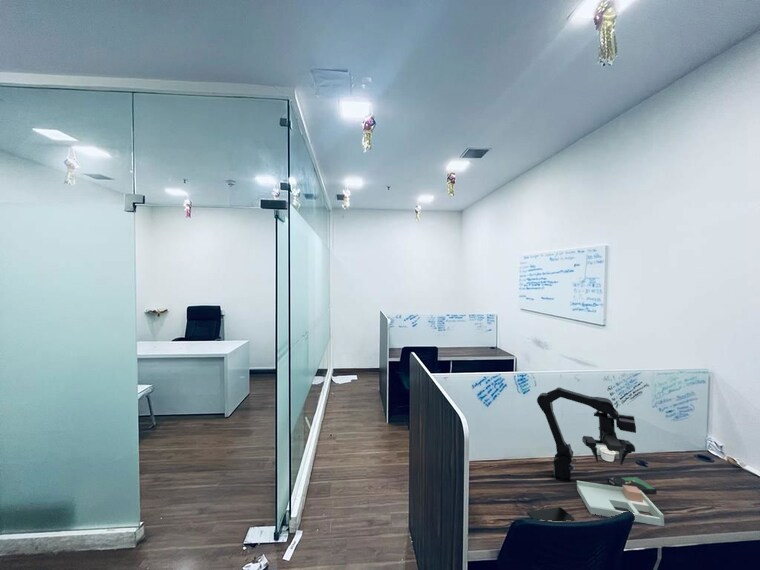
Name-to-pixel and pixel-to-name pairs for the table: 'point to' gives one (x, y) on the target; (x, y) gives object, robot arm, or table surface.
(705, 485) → the table surface
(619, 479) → the disk drive
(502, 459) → the table surface
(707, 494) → the table surface
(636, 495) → the terracotta block
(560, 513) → the smartphone
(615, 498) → the box
